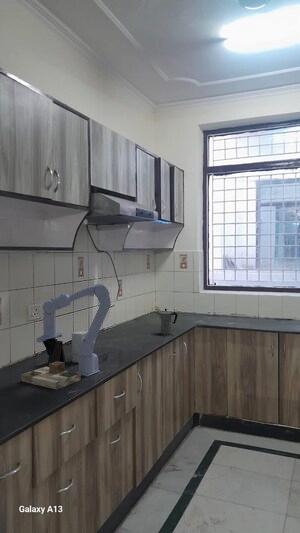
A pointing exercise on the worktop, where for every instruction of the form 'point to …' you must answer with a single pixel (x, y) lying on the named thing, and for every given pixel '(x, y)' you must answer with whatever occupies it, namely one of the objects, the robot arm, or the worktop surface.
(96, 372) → the robot arm
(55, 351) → the phone stand
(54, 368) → the walnut block
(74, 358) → the skincare box
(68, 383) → the trap board
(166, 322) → the coffeepot
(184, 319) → the worktop surface
